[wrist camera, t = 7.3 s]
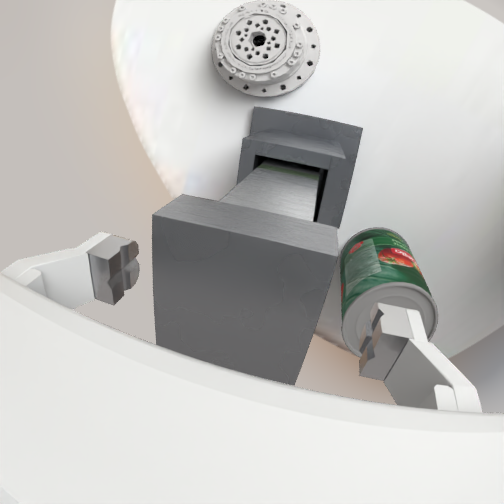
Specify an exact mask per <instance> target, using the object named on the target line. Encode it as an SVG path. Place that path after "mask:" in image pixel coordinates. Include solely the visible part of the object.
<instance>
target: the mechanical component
mask: <svg viewBox="0 0 504 504" xmlns="http://www.w3.org/2000/svg"><path fill="white" fill-rule="evenodd" d="M298 17H299V18H298ZM284 29H285V30H287V31H285V30H284ZM309 29H310V30H313V31H312V32H308V30H309ZM286 32H287V33H286ZM276 33H277V34H276ZM263 34H264V35H263ZM258 35H262V36H264V37H265V38H264V39H261V40H254V42H253V39H254V37H256V36H258ZM274 39H275V40H274ZM264 41H265V43H264V45H262V46H258V47H257V44H258V43H262V42H264ZM253 46H254V47H253ZM278 46H279V48H276V47H278ZM314 46H315V48H312V47H314ZM248 50H249V51H248ZM269 50H270V51H269ZM258 54H259V55H258ZM212 56H213V63H214V65H215V67H216V69H217V71H218V72H219V74H220V75H221V76H222V78H223V79H224V80H225V81H226V82H227V83H228V84H230V85H231V86H232V87H234V88H235V89H237V90H239V91H241V92H243V93H246V94H250V95H254V96H261V97H273V96H279V95H283V94H286V93H289V92H291V91H293V90H295V89H296V88H298V87H300V86H301V85H303V84H304V82H305V81H306V80H307V79H308V78H309V77H310V76H311V75H312V74H313V73H314V70H315V68H316V65H317V63H318V61H319V56H320V42H319V36H318V33H317V30H316V28H315V26H314V24H313V23H312V21H311V19H310V18H309V17H308V16H307V15H306V14H305V13H304V12H302V11H301V10H299V9H298V8H296V7H295V6H293V5H290V4H288V3H285V2H282V1H277V0H256V1H252V2H249V3H246V4H243V5H241V6H239V7H237V8H235V9H234V10H233V11H231V12H230V13H229V14H228V15H226V16H225V17H224V18H223V20H222V21H221V23H220V24H219V26H218V28H217V30H216V32H215V34H214V37H213V43H212ZM267 56H268V58H267V59H265V58H266V57H267ZM251 57H252V58H251ZM250 58H251V59H250ZM309 62H312V63H313V65H311V66H309V65H308V63H309ZM222 64H223V66H222ZM232 77H233V79H232ZM298 77H301V79H298ZM247 86H248V87H249V88H248V89H246V87H247ZM281 86H286V89H285V90H282V87H281ZM265 89H266V92H264V90H265Z"/></svg>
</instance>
